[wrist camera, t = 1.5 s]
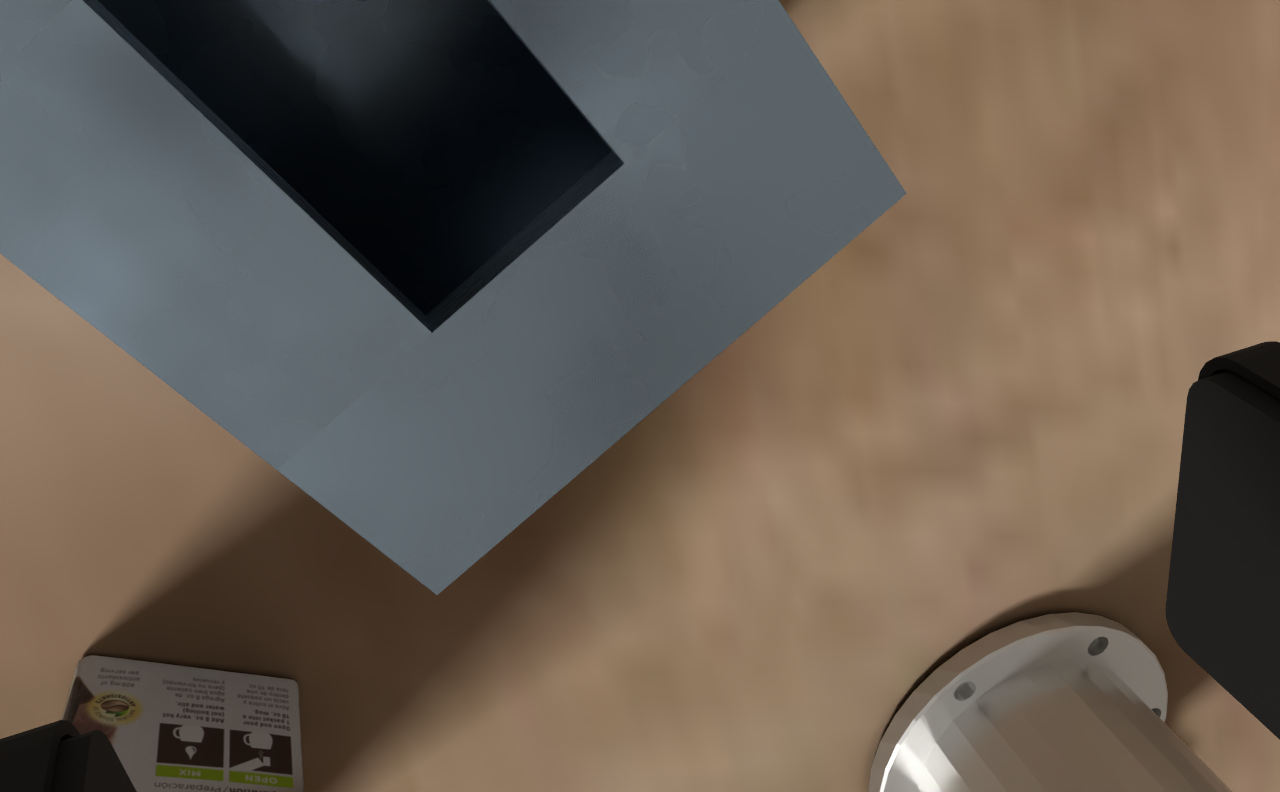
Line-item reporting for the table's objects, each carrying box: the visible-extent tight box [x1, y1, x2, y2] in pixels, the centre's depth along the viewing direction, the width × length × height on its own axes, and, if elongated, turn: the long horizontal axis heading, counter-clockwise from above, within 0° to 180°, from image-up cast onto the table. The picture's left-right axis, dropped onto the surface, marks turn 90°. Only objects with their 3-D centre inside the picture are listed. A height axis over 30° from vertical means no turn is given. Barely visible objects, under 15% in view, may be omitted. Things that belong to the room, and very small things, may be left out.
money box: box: [0, 0, 906, 595], centre depth 23 cm, size 16×12×10 cm
